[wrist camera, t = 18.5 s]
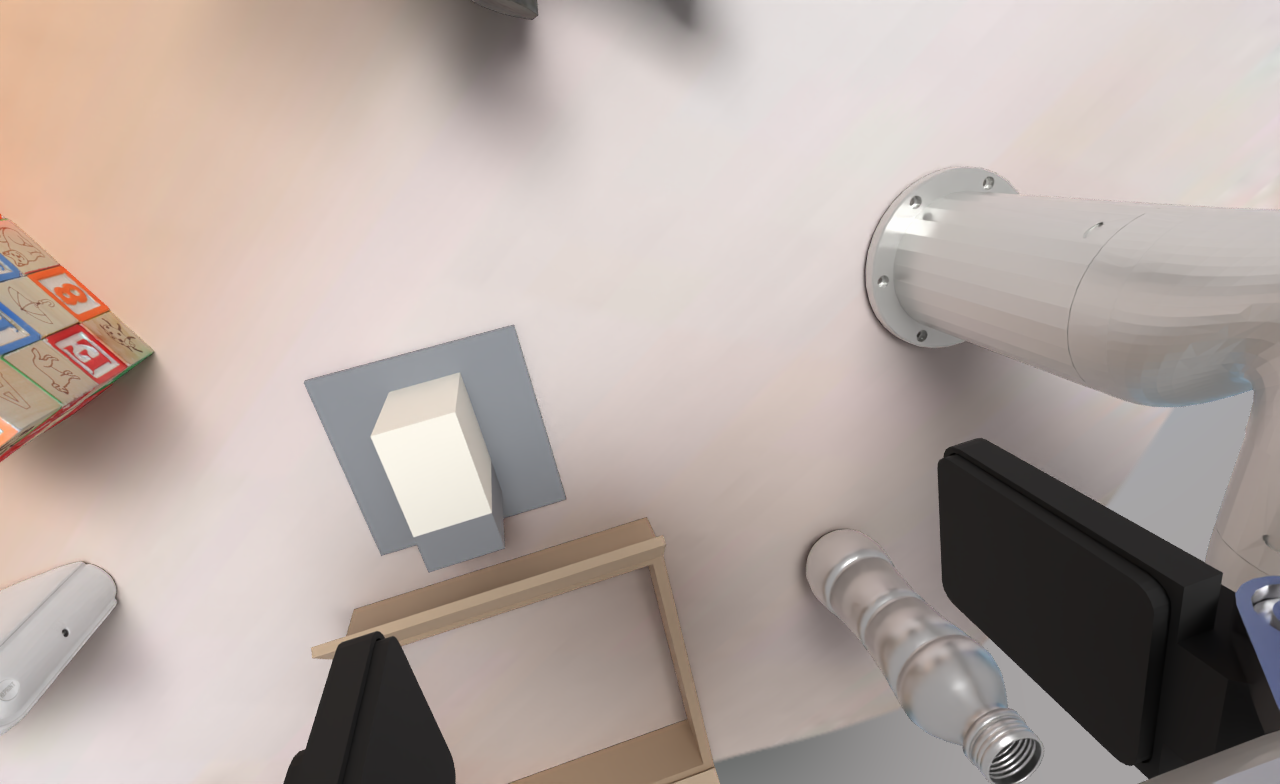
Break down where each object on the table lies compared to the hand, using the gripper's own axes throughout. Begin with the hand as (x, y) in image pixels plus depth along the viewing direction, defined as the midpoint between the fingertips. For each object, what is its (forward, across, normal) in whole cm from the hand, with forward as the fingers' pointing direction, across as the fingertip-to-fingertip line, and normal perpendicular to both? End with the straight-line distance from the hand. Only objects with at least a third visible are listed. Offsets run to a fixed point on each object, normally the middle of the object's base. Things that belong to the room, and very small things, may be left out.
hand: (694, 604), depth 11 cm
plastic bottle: (+32, -17, +28) cm, 46 cm away
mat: (+32, +9, +9) cm, 35 cm away
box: (+32, +9, +9) cm, 34 cm away
